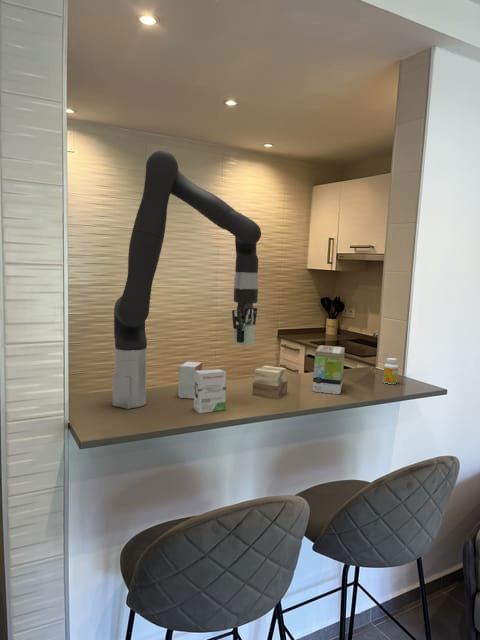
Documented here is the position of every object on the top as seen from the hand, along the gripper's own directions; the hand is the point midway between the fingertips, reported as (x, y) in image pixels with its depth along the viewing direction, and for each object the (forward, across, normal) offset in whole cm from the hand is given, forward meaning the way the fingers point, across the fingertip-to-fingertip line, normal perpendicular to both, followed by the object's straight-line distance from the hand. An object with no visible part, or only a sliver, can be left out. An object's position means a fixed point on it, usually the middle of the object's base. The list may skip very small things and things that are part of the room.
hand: (244, 340), depth 143 cm
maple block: (+15, -12, +5) cm, 20 cm away
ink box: (+20, +14, -4) cm, 24 cm away
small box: (+20, +4, -17) cm, 26 cm away
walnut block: (+20, -12, +4) cm, 24 cm away
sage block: (+1, 0, 0) cm, 1 cm away
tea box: (+20, -32, +20) cm, 42 cm away
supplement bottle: (+20, -53, +39) cm, 68 cm away
